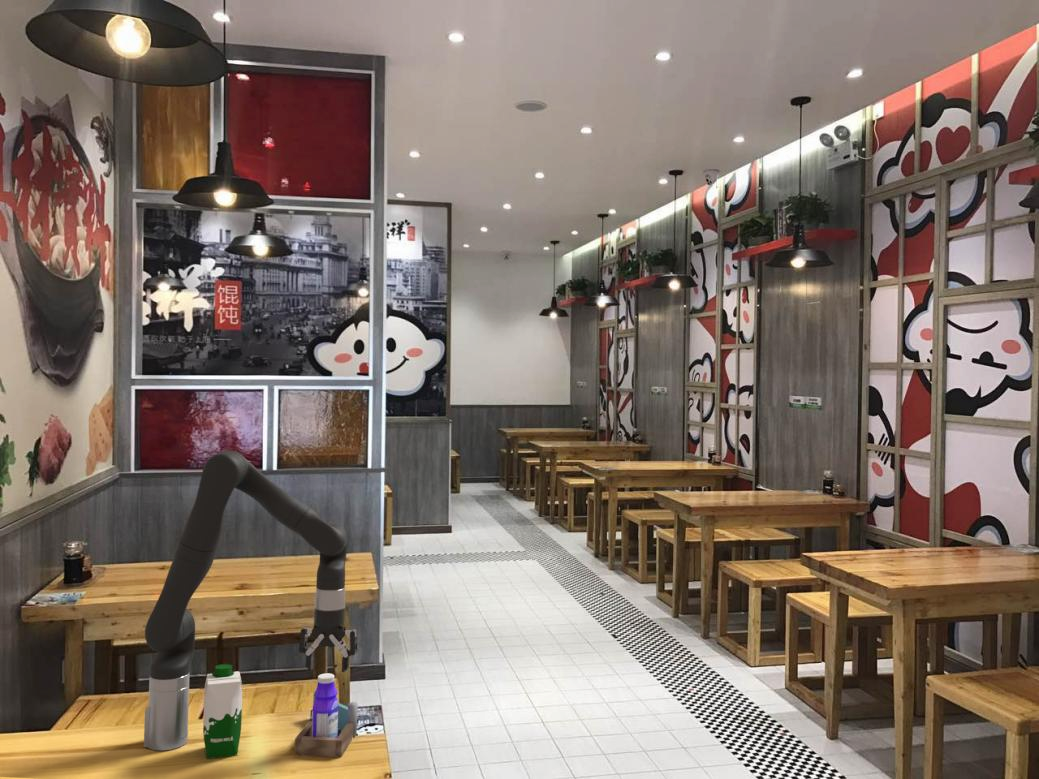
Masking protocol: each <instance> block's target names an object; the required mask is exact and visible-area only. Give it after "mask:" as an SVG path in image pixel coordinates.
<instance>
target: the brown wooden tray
mask: <svg viewBox="0 0 1039 779" xmlns="http://www.w3.org/2000/svg"><path fill="white" fill-rule="evenodd" d="M352 738H353V739H354V737H353V723H347V724H346V726H345V727H344V729H343V730H341V732H340V733H339V735H338V738H330V737H312V720H311V721H310V720H309V721H307V723H306V725H305V726H304V727H303V728H302V729H301V731H300V732H299V733H298V734H297V735H296V737H295V738H294V756H305V757H306V756H307V757H309V756H310V757H325V758H326V757H329V758H342V757H343V755H344V754H345V752H346V751H347V749H348V747H349V746H350V744H351V743H352V741H353V740H352ZM351 740H352V741H351ZM350 742H351V743H350ZM348 745H349V746H348Z"/></svg>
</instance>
